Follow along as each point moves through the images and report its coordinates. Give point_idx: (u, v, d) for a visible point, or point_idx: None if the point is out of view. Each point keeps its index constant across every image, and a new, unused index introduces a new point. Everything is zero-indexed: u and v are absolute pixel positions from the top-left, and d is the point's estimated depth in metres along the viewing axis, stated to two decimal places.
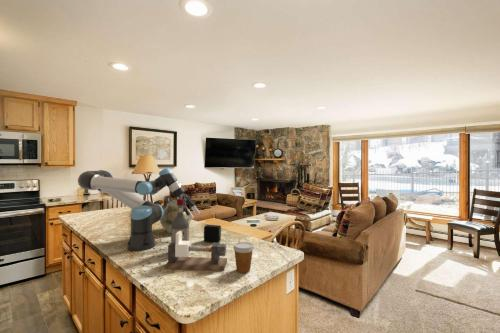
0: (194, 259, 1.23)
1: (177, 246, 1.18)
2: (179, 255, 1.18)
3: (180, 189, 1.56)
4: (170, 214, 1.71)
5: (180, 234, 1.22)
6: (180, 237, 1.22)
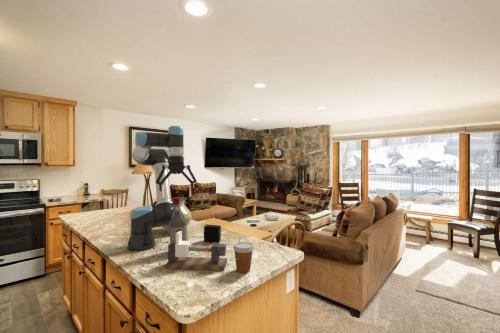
0: (194, 259, 1.23)
1: (177, 246, 1.18)
2: (179, 255, 1.18)
3: (170, 158, 1.25)
4: None
5: (180, 234, 1.22)
6: (180, 237, 1.22)
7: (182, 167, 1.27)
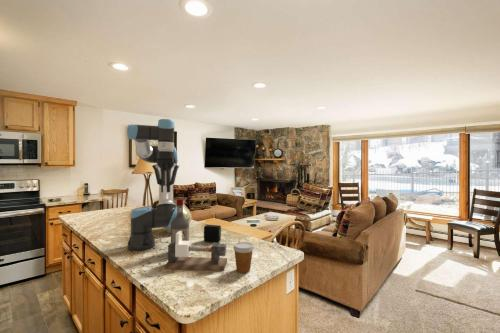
0: (194, 259, 1.23)
1: (177, 246, 1.18)
2: (179, 255, 1.18)
3: (158, 153, 1.18)
4: None
5: (180, 234, 1.22)
6: (180, 237, 1.22)
7: (171, 163, 1.20)
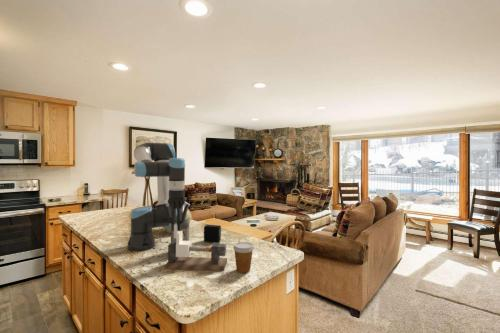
0: (194, 259, 1.23)
1: (178, 246, 1.18)
2: (180, 255, 1.18)
3: (169, 192, 1.18)
4: None
5: (181, 234, 1.22)
6: (181, 237, 1.22)
7: (182, 202, 1.20)
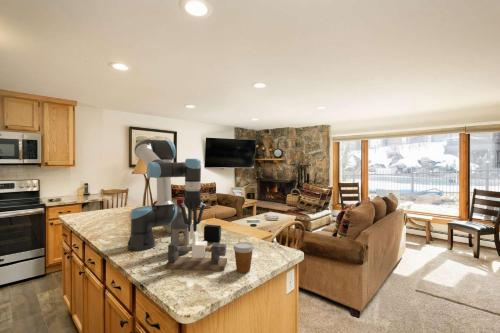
0: (194, 259, 1.23)
1: (194, 246, 1.18)
2: (196, 256, 1.18)
3: (185, 193, 1.18)
4: None
5: (196, 234, 1.21)
6: (197, 238, 1.22)
7: (198, 202, 1.19)
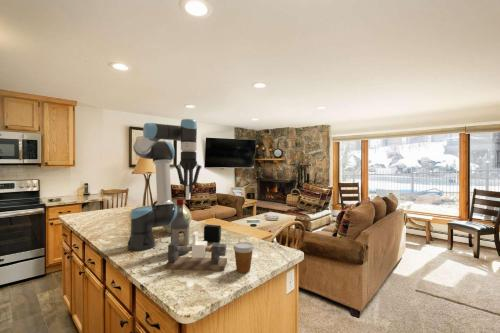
0: (194, 259, 1.23)
1: (194, 246, 1.18)
2: (196, 256, 1.18)
3: (181, 153, 1.18)
4: None
5: (196, 234, 1.21)
6: (197, 238, 1.22)
7: (194, 163, 1.20)
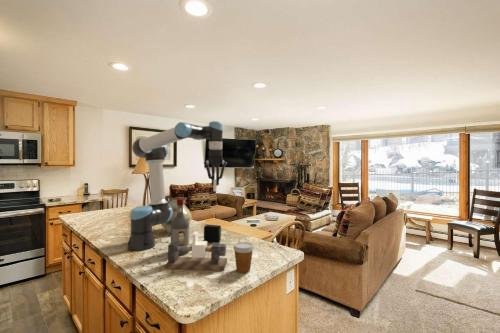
0: (194, 259, 1.23)
1: (194, 246, 1.18)
2: (196, 256, 1.18)
3: (210, 151, 1.36)
4: None
5: (196, 234, 1.21)
6: (197, 238, 1.22)
7: (220, 160, 1.38)
